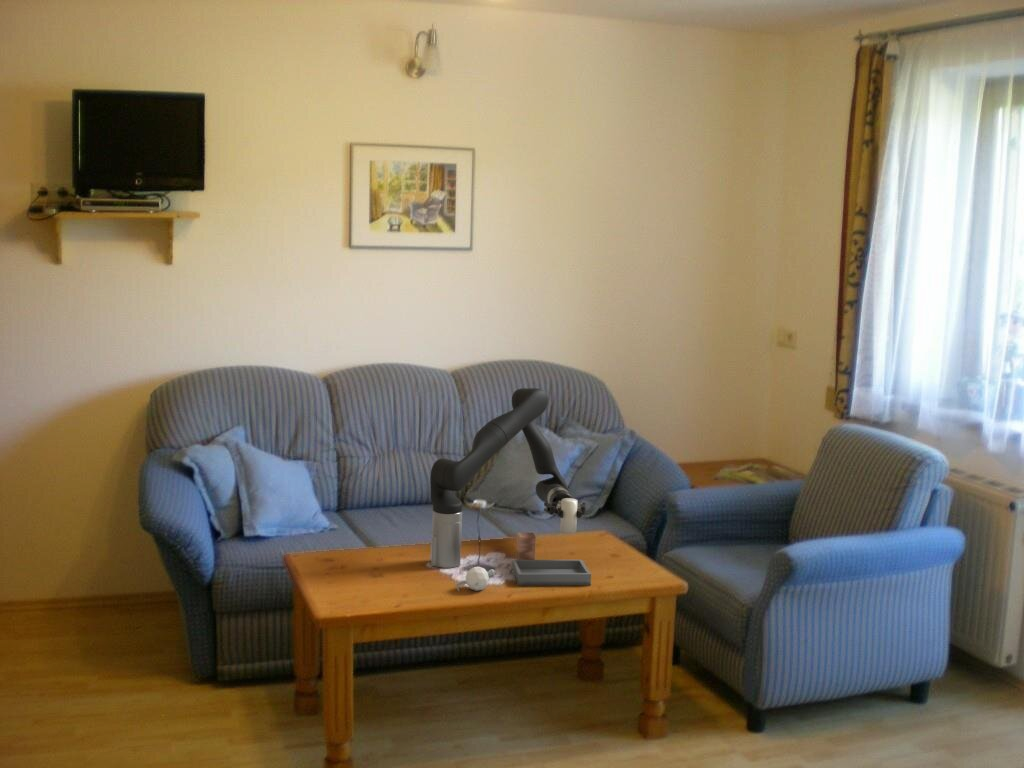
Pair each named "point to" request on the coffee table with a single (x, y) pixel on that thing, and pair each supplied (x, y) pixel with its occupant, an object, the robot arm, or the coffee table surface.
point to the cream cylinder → (569, 515)
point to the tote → (550, 572)
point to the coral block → (526, 546)
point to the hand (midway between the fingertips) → (570, 514)
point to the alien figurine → (477, 578)
